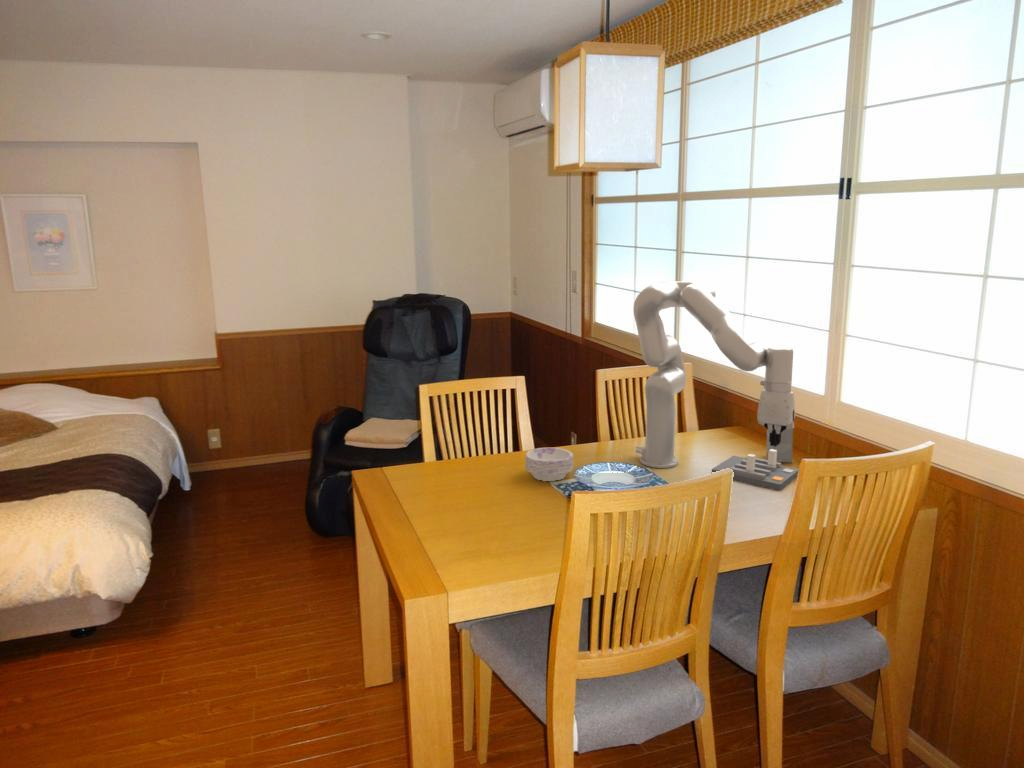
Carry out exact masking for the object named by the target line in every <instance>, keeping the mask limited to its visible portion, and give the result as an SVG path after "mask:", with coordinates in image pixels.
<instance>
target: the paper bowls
mask: <svg viewBox="0 0 1024 768" xmlns="http://www.w3.org/2000/svg"><path fill="white" fill-rule="evenodd" d="M524 465H525V470H526V471H527V472H529V473H531V475H532V477H533V478H534V479H535V480H538V481H540V480H542V481H541V482H546V481H553V482H556V481H555V480H559V481H562V480H563V479H564V478H565V477H566V476H567V474H568V473H570V472H572V471H573V469H574V454H573V452H572V451H570V450H568V449H565V448H559V447H552V446H551V447H550V446H549V447H537V448H533V449H530V450H528V451H526V453H525V462H524ZM561 479H562V480H561Z"/></svg>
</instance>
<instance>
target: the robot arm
mask: <svg viewBox="0 0 1024 768" xmlns="http://www.w3.org/2000/svg"><path fill="white" fill-rule="evenodd" d="M668 308H669V309H670V308H684V309H685V310H686V311H688V312H689V313H690V315H691V316H693V318H695V319H696V320H697V322H699V323H700V324H701V325H702V327H704V329H706V330H707V331H708V333H710V335H711V338H712V339H713V341H714V342H715V344H716V346H717V347H718V349H719V351H720V352H721V353H722V355H724V356H725V358H727V359H728V360H729V361H730V362H731V363H732V364H733V365H734V366H735V367H737V368H738V369H739V370H741V371H744V372H753V371H755V370H757V369H758V368H761V367H765V374H764V375H765V379H764V380H760V386H762V387H763V389H761V391H760V394H759V395H760V396H759V401H758V406H757V415H756V416H757V418H756V419H757V423H758V425H761V426H763V427H765V428H766V431H767V430H768V432H769V433H770V436H769V442H771V443H770V445H771V446H775V447H776V446H777V445H779V444H780V442H781V432H783V431H784V430H785V429H793V430H794V428H795V419H796V404H795V396H794V395H795V394H794V392H793V391H792V381H793V378H792V377H793V363H794V361H793V360H794V350H793V348H792V347H791V346H789V345H783V344H776V345H775V344H774V345H773V344H769V343H768V344H767V343H764V342H759V341H758V342H756V341H755V342H751V343H750V344H749V343H748V342H747V341H745V340H744V339H743V338H742V336H741V335H740V334H739V333H738V332H737V330H736V328H735V326H734V321H733V316H732V313H731V312H730V311H729V310H728V309H727V308H726V307H725V306H724V305H723V304H722V303H721V302H720V301H719V300H718V299H716V291H715V289H714V286H712V285H711V284H710V283H709V282H707V281H676V280H675V281H673V280H672V281H671V280H670V281H663V282H659V283H654V284H651V285H648V286H646V287H644V289H643V290H641V291H640V292H639V294H638V295H637V296H636V298H635V300H634V302H633V316H634V321H635V324H636V329H637V333H638V334H637V335H638V341H639V345H640V350H641V354H642V358H643V361H644V363H645V364H646V365H647V367H648V366H649V367H650V368H657V370H656V371H654V372H653V373H652V374H650V375H649V376H648V378H647V379H646V381H645V385H644V394H645V400H646V401H645V402H646V404H645V405H646V415H645V416H646V417H645V419H646V421H645V422H646V423H645V444H644V445H645V446H642V445H636V446H635V453H637V454H641V456H640V459H639V461H640V463H641V464H642V465H644V466H647V467H650V468H654V469H655V468H656V469H670V468H674V467H676V466H678V464H679V459H678V458H677V456H675V440H676V439H675V437H676V436H675V435H676V419H677V418H676V415H677V413H676V411H677V410H676V402H675V395H677V394H678V393H680V392H682V391H683V390H684V388H685V387H686V384H687V373H686V368H685V363H684V357H683V354H682V348H681V346H680V343H679V342H678V340H677V339H676V337H674V336H672V335H670V334H666V331H665V326H664V322H663V320H662V318H661V315H660V312H661V311H662V310H666V309H668ZM775 425H777V429H776V430H775Z"/></svg>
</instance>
